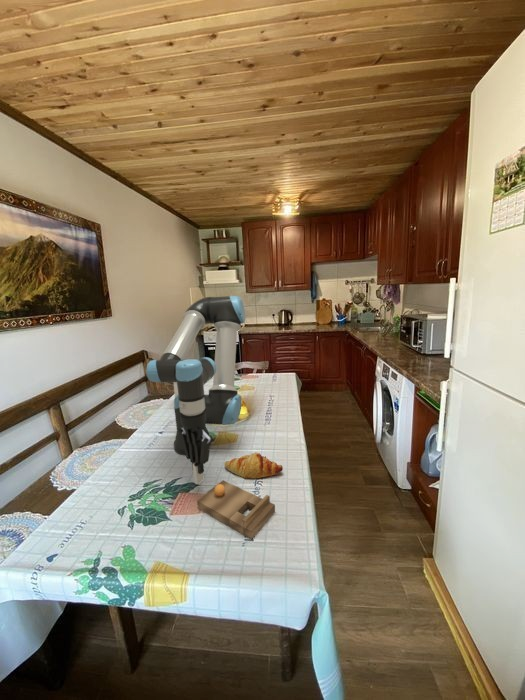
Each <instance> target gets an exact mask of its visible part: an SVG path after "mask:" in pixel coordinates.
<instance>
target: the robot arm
mask: <svg viewBox="0 0 525 700" xmlns="http://www.w3.org/2000/svg"><path fill="white" fill-rule="evenodd" d="M245 322H246V310H245V306H244V302H243V300H242V298H241V297H240V296H238V295H235V296H234V295H229V296H228V295H227V296H207V297H202V298H200V299H198V300H196V301H195V302H194V303H192V304H191V305H190V306H189V307H187V308H186V310H185V312H184V313H183V315H182V322H181V323H180V325H179V327H178V328H177V330H176V331H175V334H174V335H173V337H172V338H171V340H170V342H169V344H168V346H166V348H165V350H164V352H163V353H162V354H161V356H160V358H159V359H157V358H156V359H152V360H150V361H148V363H147V364H146V370H145V372H146V376H147V379H148V380H149V382H151V383H162V384H163V383H174V382H177V388H178V395H177V396H176V397H175V396H174V398H173V410H174V417H175V424H176V425H175V426H176V427H175V428H176V434H175V439H174V443H173V448H174V451H175V453H176V454H178V455H179V454H180V455H183V456H186V457H185V458H186V459H187V460H190V463H191V467H192V473H193V482H194V483H195V484H196V485H199V484H200V483H201V482H203V481H204V480H205V477H204V476H205V475H204V473H205V466H204V465H205V464H206V463H207V462H208V463H209V459H210V451H211V445H212V440H213V436H212V435H210V432H209V430H208V428H207V425H223V426H226V425H235V424H236V423H237V422H238V420H239V418H240V414H241V410H242V396H241V395H240V394H238V390H237V388H236V387H235V375H236V359H237V358H236V357H237V356H236V355H237V338H238V336H237V335H238V331H239V330H240V329H241V327H242V324H244V323H245ZM209 324H213V327H214V329H215V330H216V335H215V336H216V337H215V348H214V349H215V353H214V360H213V359H212V358H210V357H207V356H206V357H200V358H198V359H191V358H190V359H186V358H187V355H188V353H189V351H190V350H191V348H192V346H193V343H194V342H195V339H196V338H197V336H198V335H199V332H200V330H202V329H203V328H204V327H205V325H209ZM212 379H213V381H212V382H213V383H212V386H211V387H210V388H209V389H208V394H205V388H204V387H205V384H206V383H208V382H209V381H210V380H212ZM203 385H204V386H203Z"/></svg>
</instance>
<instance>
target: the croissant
mask: <svg viewBox="0 0 525 700" xmlns="http://www.w3.org/2000/svg"><path fill="white" fill-rule="evenodd" d="M224 467H225V468H226V469H227V470H229V471H230V472H231V473H232V474H235V475H237V476H240V477H242V478H243V479H248V478H249V479H260V478H265V477H270V476H271V477H272V476H275V475H278V474H279V473H281V472H283V468H284V467H283V465H281V464H277V462H274V461H271V460H270V459H268V458H267V456H262V454H261V453H260V452H254V453H251V454H246V455H241V456H239V457H237V458H232V459H230V460H227V461H225V462H224Z"/></svg>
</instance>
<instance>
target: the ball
mask: <svg viewBox="0 0 525 700" xmlns="http://www.w3.org/2000/svg"><path fill="white" fill-rule="evenodd" d="M216 485H217V486H216ZM216 485H215V486H216V487H215V486H214V487H215V489H214V492H215V494H216V495H217V496H222V495H223V494H224V493H225V487H224V486H223V485H222V484H219V483H218V484H216Z"/></svg>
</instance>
